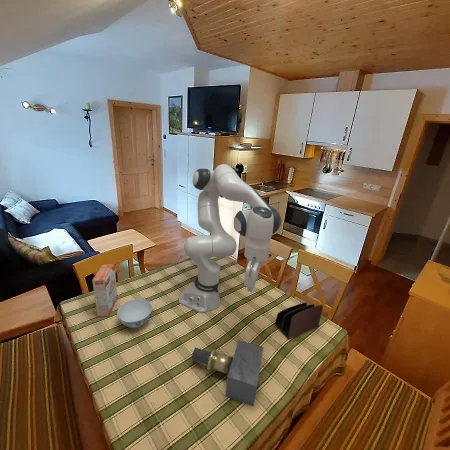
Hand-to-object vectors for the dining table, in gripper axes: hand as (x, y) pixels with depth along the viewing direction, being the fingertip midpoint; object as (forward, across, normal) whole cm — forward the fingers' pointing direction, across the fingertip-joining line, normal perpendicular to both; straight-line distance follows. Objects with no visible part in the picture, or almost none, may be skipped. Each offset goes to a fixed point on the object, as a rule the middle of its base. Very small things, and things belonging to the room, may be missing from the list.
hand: (252, 283), depth 90 cm
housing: (+33, -15, -4) cm, 36 cm away
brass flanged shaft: (+31, -15, +9) cm, 36 cm away
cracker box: (+33, -2, +70) cm, 77 cm away
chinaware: (+33, -6, +50) cm, 61 cm away
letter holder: (+33, +21, -22) cm, 45 cm away
